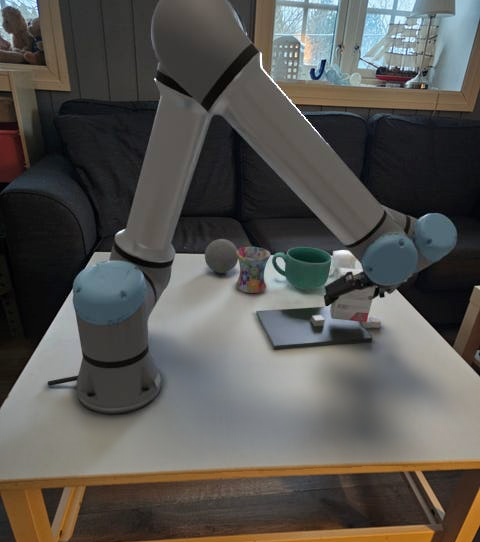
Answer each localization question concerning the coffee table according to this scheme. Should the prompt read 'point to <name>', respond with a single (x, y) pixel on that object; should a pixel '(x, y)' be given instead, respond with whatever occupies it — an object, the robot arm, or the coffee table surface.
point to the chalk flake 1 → (318, 320)
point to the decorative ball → (221, 256)
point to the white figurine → (342, 260)
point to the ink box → (352, 301)
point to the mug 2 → (305, 267)
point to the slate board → (309, 328)
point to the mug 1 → (252, 269)
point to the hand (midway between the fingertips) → (344, 299)
